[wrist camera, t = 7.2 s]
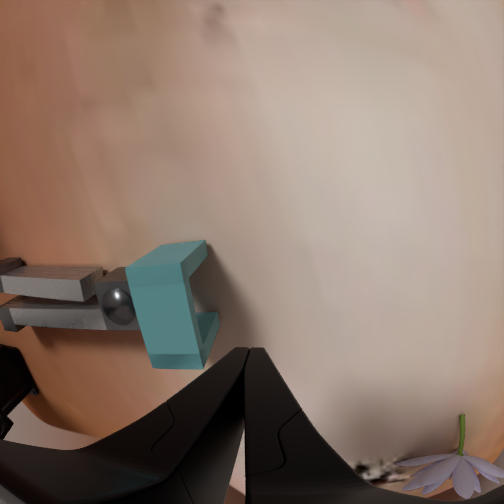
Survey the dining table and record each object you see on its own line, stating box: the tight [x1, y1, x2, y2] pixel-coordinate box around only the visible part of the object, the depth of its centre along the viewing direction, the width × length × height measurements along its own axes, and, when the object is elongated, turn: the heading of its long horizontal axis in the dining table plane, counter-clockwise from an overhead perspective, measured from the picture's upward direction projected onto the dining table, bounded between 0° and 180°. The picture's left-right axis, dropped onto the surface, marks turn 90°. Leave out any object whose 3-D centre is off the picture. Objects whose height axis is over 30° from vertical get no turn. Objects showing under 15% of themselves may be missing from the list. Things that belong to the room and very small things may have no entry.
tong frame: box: [0, 267, 141, 332], centre depth 19 cm, size 16×4×4 cm, turn 97°
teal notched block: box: [125, 240, 220, 369], centre depth 17 cm, size 3×6×5 cm, turn 7°
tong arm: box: [0, 258, 104, 302], centre depth 19 cm, size 12×2×3 cm, turn 92°
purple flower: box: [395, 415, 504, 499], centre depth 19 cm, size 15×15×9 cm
